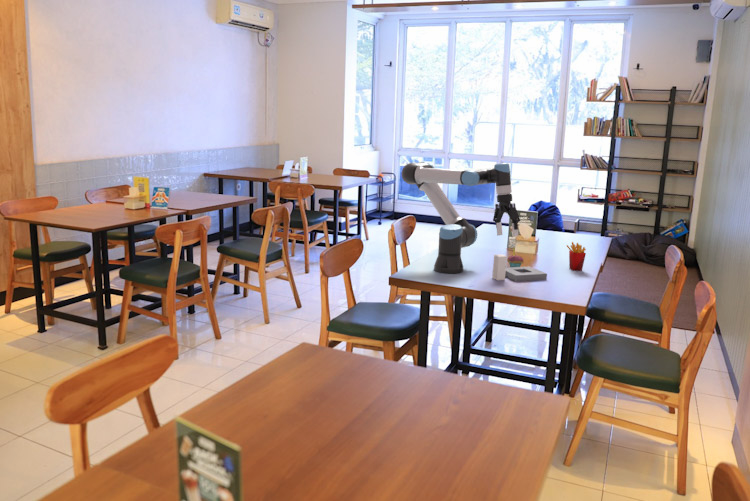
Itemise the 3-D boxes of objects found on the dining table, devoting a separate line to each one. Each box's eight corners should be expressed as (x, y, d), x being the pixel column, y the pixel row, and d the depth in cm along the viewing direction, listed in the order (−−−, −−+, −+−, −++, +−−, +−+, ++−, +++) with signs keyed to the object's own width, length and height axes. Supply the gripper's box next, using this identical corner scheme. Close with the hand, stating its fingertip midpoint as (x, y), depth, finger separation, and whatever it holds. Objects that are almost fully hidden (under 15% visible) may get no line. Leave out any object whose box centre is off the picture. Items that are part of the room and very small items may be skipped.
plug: (496, 280, 316) (498, 256, 314) (492, 278, 320) (494, 254, 318) (504, 279, 318) (506, 256, 315) (500, 277, 322) (502, 254, 319)
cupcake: (513, 270, 338) (515, 248, 335) (503, 267, 345) (505, 245, 343) (526, 269, 342) (528, 247, 339) (515, 266, 349) (517, 244, 347)
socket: (515, 281, 316) (515, 275, 315) (498, 273, 330) (499, 267, 330) (546, 279, 322) (547, 273, 321) (528, 271, 336) (529, 266, 336)
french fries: (578, 268, 349) (581, 241, 346) (585, 271, 342) (588, 244, 338) (563, 268, 348) (566, 241, 345) (570, 271, 340) (573, 244, 337)
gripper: (525, 192, 313) (528, 235, 315) (496, 193, 336) (499, 233, 338) (512, 194, 310) (516, 237, 312) (484, 195, 333) (487, 235, 335)
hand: (507, 235), depth 325 cm, fingers open, 13 cm apart
